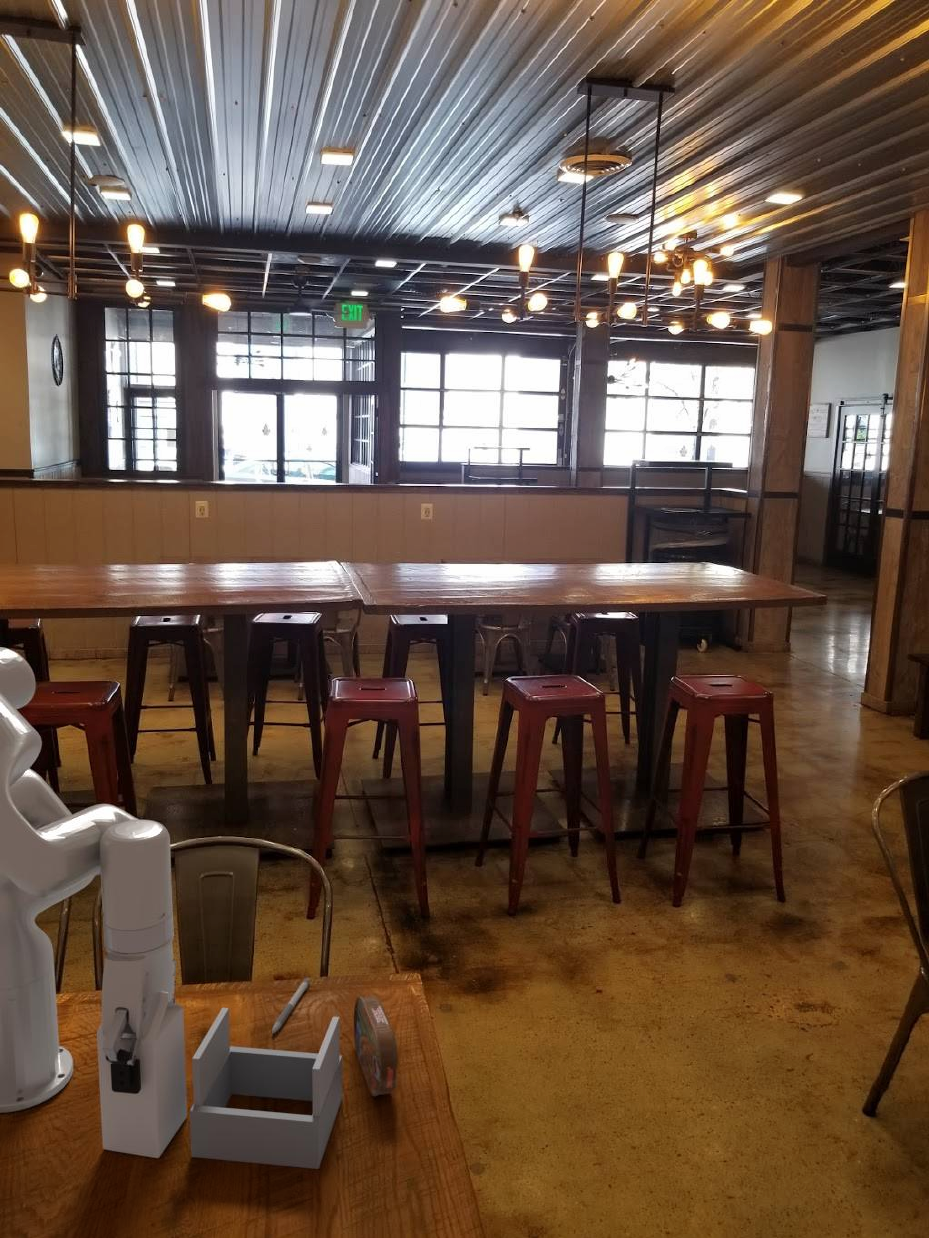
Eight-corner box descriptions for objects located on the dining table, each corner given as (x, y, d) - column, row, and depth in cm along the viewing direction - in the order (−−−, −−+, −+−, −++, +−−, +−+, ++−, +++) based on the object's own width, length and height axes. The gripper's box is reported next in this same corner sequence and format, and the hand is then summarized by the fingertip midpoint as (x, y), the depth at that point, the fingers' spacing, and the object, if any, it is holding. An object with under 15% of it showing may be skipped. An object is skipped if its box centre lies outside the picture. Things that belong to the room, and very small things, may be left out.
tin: (351, 1039, 133) (351, 984, 132) (373, 1035, 134) (374, 980, 133) (376, 1111, 119) (376, 1050, 118) (400, 1106, 120) (401, 1046, 119)
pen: (311, 984, 147) (311, 975, 146) (276, 1039, 133) (275, 1030, 133) (305, 983, 147) (305, 975, 147) (269, 1038, 133) (268, 1029, 133)
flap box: (191, 1156, 111) (188, 1063, 109) (226, 1087, 123) (224, 1002, 120) (318, 1168, 110) (318, 1075, 107) (342, 1098, 121) (341, 1012, 119)
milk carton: (159, 1159, 110) (152, 1010, 107) (102, 1150, 112) (94, 1002, 108) (187, 1117, 117) (182, 975, 114) (134, 1109, 119) (127, 968, 115)
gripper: (139, 892, 118) (145, 1017, 122) (69, 967, 101) (78, 1111, 105) (198, 896, 118) (202, 1022, 121) (138, 973, 101) (144, 1117, 104)
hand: (145, 1063), depth 113 cm, fingers open, 9 cm apart
